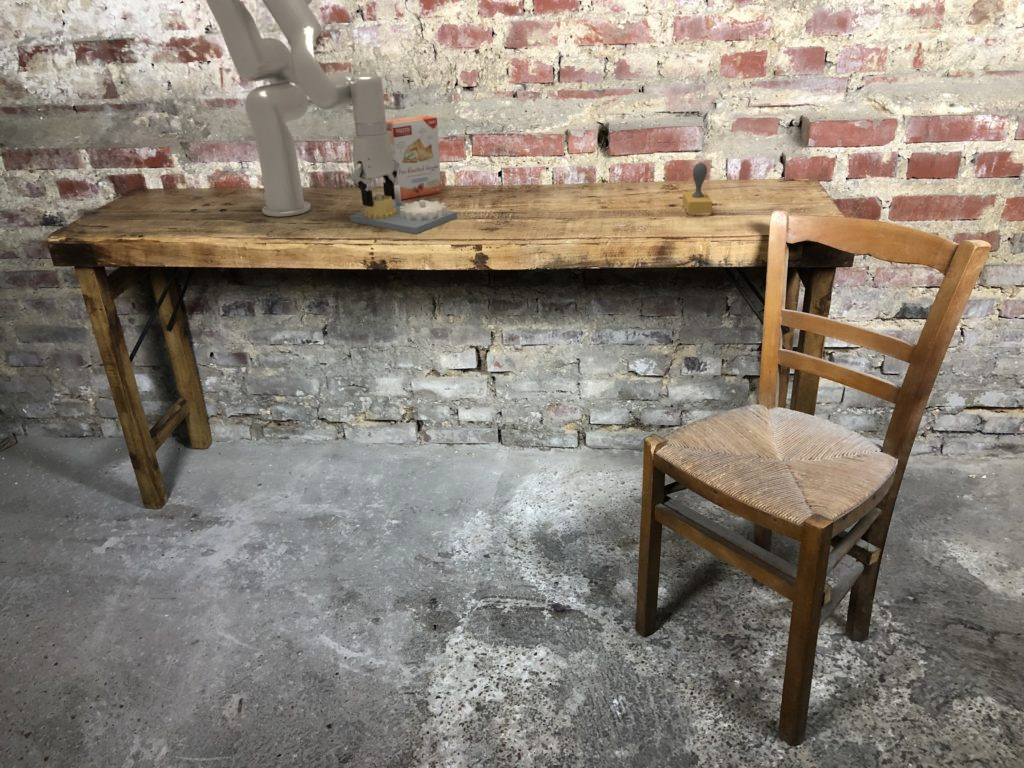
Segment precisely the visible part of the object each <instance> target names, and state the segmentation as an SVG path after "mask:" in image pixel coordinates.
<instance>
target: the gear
mask: <svg viewBox="0 0 1024 768" xmlns="http://www.w3.org/2000/svg"><path fill="white" fill-rule="evenodd" d="M372 196H373V206H372V207H369V206H366V209H365V210H364V211H365V216H366V217H368V218H373V219H377V218H383V217H385V218H388V217H389V216H390V217H392V216H394V215H396V213H397V212H396V209H395V208H393V203H392V201H393V199H392V196H386V195H384V194H382V200H376V195H372Z"/></svg>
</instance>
